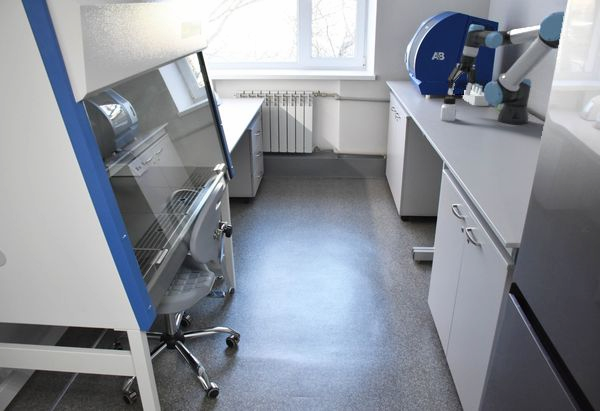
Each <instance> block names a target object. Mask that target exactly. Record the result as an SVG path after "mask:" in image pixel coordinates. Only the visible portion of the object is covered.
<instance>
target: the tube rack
mask: <svg viewBox="0 0 600 411" xmlns="http://www.w3.org/2000/svg"><path fill="white" fill-rule="evenodd" d="M465 92H466V90H464V95H462V100H463V99H464V100H463V101H465V102H467V103H468V102H469V103H468V104H470V105H472V106H473V105H474V107H483V106H484V107H487V106H489V103H488V102H487V101H486V99H485V97H484V91H483V85H480V84H479V83H477V82H476V83H475V84H473V86H472V89H471V92H470V95H469V96H468V95H465Z"/></svg>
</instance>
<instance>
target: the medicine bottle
mask: <svg viewBox="0 0 600 411" xmlns="http://www.w3.org/2000/svg"><path fill="white" fill-rule="evenodd" d="M456 101H457V100H456V98H455V97H453V96H445V97H444V98H443V104H442V105H441V110H440V120H441V121H444V122H445V121H449V122H455V121H456V114H457V107H456Z"/></svg>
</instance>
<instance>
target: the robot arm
mask: <svg viewBox="0 0 600 411" xmlns="http://www.w3.org/2000/svg"><path fill="white" fill-rule="evenodd" d="M564 12H565V11H556V12H553V13H549V14H548V15H546V16H545V17H544V18H543V19H542V21H541V22H540V24H535V25H529V26H528V25H527V26H524V27H519V28H513V29H508V30H497V31H496V30H494V31H490V30H485V26H484V25H481V24H479V25H478V24H474V23H472V24H470V26H469V28H468V32H467V35H466V39H465V43H464V46H463V51H462V55H461V57H460V63H457V62H456V63H455V67H454V68H453V69H452V71H451V73H450V75H449V76H448V78H447V81H448V82H449V85H448V90H447V94H448V95H449V96H452V95H454V94H453V90H454V86H455V83H454V82H455V81H456V80H457V79H458V78H459V76H460V75H461V74H463V73H467V80H468V81H469V82H468V83H467V85H466V92H465V95H468V96H469V95H470V92H471V90H472V86H473V84H475V83H476V84H477V81H478V79H477V67H478V65H476V64H475V63H476V60H477V56H478V54H479V48H480V46H482V47H485V48H486V47H487V48H489V49H498V47H509V46H515V45H519V44H525V43H531V42H532V43H531V44H530V45H529V47H528V48H527V49H526V50H525V51H524V52H523V53H522V54H521V55H520V56H519V58H518V59H516V61H515V62H514V63H513V65H511V67H510V68H509V69H508V70H507V71H506V72H505V73H501V74H499V75H498V76H497V78H496V79H495V80H494V81H492V80H491V81H490V82H488V83H486V85H485V87H484V89H483V93H484V97H485V99H486V101H487V102H488V103H489V104H490V105H491V106H492V105H494V106H498V105H499V104H504V105H503V108H502V109H501V111H500V112H499V113H498V115H497V121H499V122H501V123H505V124H511V125H524V124H528V123H529V119H530V118H529V113H528V103H529V97H530V92H531V88H532V80H531V79H530V78H528V76H529V75H530V74H531V72H533V70H534V69H535V68H536V67H537V66H538V65H539V64H540V63H541V62H542V61H543V60H544V58H546V57H547V56H548V54H550V53H551V51H552V50H554V49H555V50H557V49H559V48H558V45H559V39H560V33H561V28H562V22H563V16H564Z"/></svg>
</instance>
